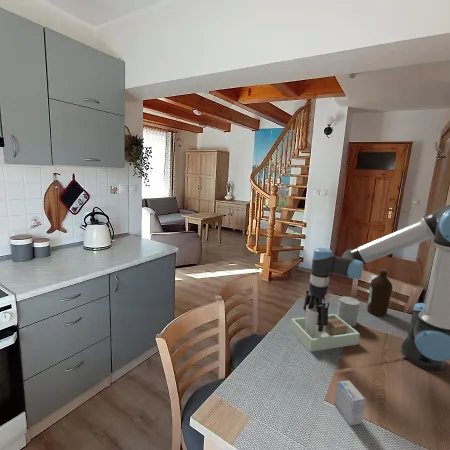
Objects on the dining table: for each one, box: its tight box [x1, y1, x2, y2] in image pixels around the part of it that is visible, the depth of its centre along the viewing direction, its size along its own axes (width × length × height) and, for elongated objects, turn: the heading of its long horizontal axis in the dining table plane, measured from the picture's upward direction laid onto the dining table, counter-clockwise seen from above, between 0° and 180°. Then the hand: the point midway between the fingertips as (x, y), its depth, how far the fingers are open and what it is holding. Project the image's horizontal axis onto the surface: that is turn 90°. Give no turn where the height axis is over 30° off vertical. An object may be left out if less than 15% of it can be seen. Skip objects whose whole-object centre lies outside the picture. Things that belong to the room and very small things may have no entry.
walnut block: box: [325, 319, 347, 336], centre depth 126 cm, size 6×6×6 cm
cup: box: [305, 305, 318, 337], centre depth 122 cm, size 8×8×12 cm
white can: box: [336, 295, 361, 328], centre depth 138 cm, size 10×10×12 cm
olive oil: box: [366, 268, 393, 317], centre depth 149 cm, size 11×11×25 cm
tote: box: [289, 313, 361, 353], centre depth 125 cm, size 17×24×6 cm
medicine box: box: [333, 380, 367, 426], centre depth 85 cm, size 8×4×9 cm, turn 12°
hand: (312, 331), depth 123 cm, fingers closed on cup, 7 cm apart
